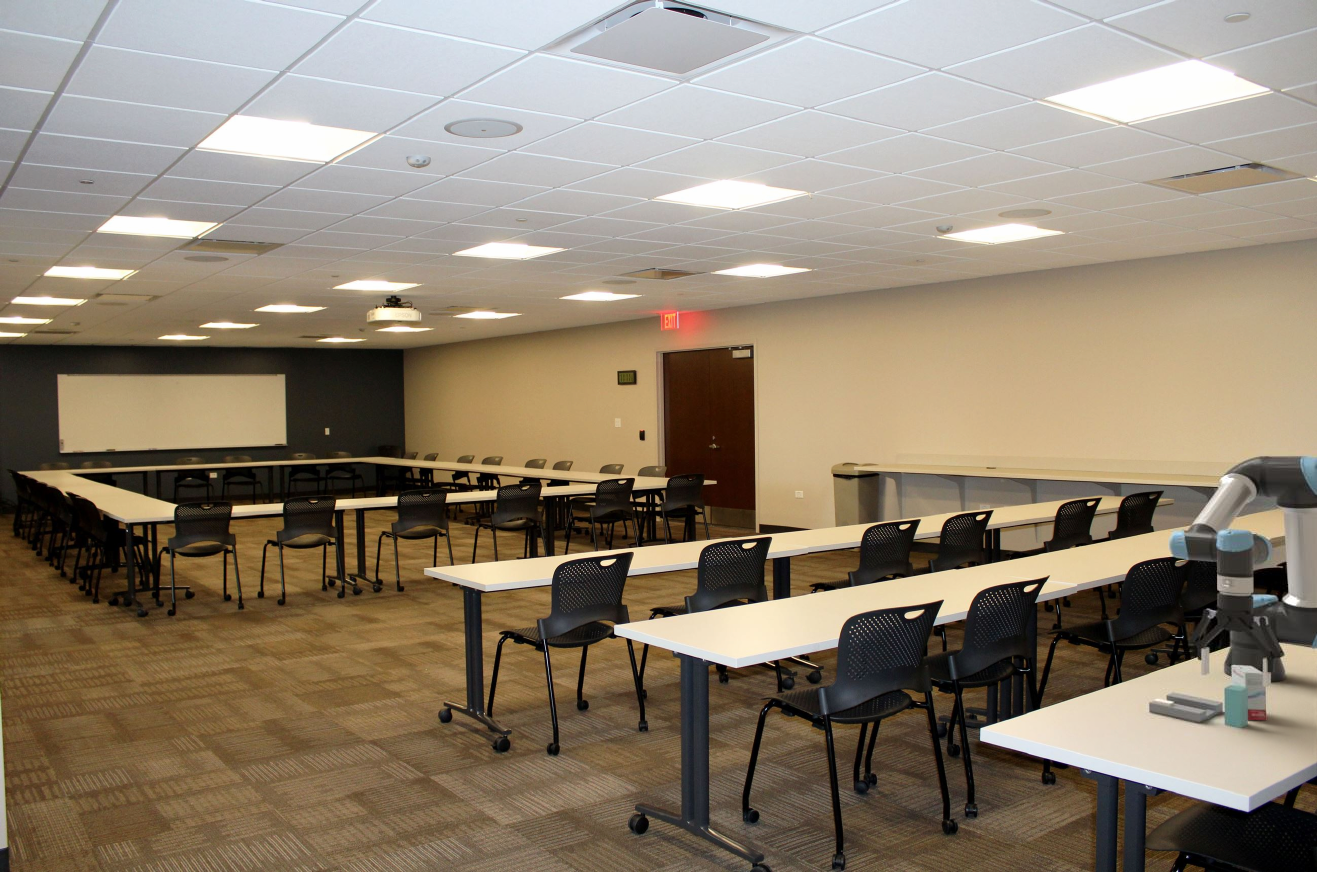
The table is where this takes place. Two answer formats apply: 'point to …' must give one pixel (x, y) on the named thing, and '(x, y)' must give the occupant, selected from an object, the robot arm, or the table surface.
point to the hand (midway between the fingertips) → (1235, 679)
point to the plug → (1236, 706)
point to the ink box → (1251, 689)
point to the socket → (1186, 707)
